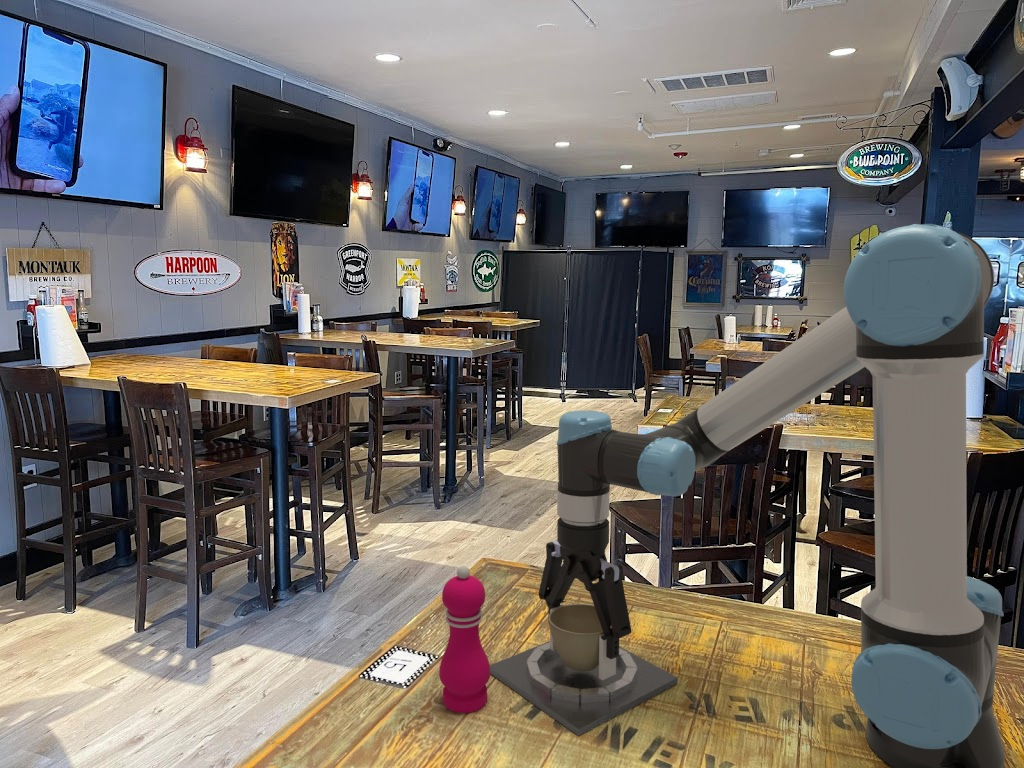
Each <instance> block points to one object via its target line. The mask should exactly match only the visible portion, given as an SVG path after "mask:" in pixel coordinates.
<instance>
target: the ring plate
mask: <svg viewBox="0 0 1024 768" xmlns="http://www.w3.org/2000/svg"><path fill="white" fill-rule="evenodd" d="M490 676H493V677H494V678H496V679H497V680H498V681H500V682H501V683H503V684H504V685H505V686H507V687H508V688H509V689H511V690H512V691H514V692H516V693H517V694H518V695H520V696H521V697H522V698H524V699H525V700H526V701H529V702H530V703H531V704H533V705H534V706H536V707H537V708H538V709H539V710H541V711H542V712H543V713H545V714H547V715H548V716H549V717H550V718H552V719H554V720H555V721H557V722H558V723H559V724H561V725H562V726H564V727H565V728H566V729H567V730H569V731H571V732H572V733H574V734H575V735H576V736H578V737H580V736H582V735H584V734H586V733H588V732H589V731H591V730H593V729H595V728H596V727H595V726H597V727H599V726H601V725H602V724H601V723H603V722H605V723H606V722H608V721H610V720H612V719H614V718H616V717H617V715H618V716H619V714H620V715H621V713H622V714H623V713H625V712H627V711H629V710H631V709H633V708H635V707H637V706H638V705H640V704H642V703H644V702H646V701H648V700H649V699H651V698H653V697H655V696H657V695H659V694H661V693H663V692H666V690H669V689H670V688H673V687H674V686H676V685H678V681H679V680H678V679H679V678H678V676H676V675H674V674H672V673H670V672H669V671H667V670H665V669H663V668H660V667H659V666H657V665H655V664H653V663H651V662H649V661H647V660H646V659H644V658H642V657H640V656H638V655H637V654H635V653H633V652H630V651H629V650H627V649H625V648H623V647H622V646H620V645H619V655H618V657H616V674H615V675H613V676H611V677H609V678H607V679H605V680H601V679H599V665H598V666H597V667H596V668H595V669H593V670H590V671H576V670H573V669H570V668H569V667H567V666H566V664H565V663H564V662H563V660H562V658H561V657H560V655H559V653H558V651H557V650H554V651H552V650H551V649H550V640H549V641H546V642H544V643H542V644H539V645H537V646H534V647H532V648H530V649H528V650H527V649H526V650H525V651H522V652H520V653H517V654H515V655H512V656H509V657H507V658H505V659H502V660H500V661H498V662H495V663H492V664H490ZM636 705H637V706H636ZM613 717H614V718H613ZM609 719H610V720H609ZM607 720H608V721H607ZM600 724H601V725H600ZM603 724H604V723H603ZM598 725H599V726H598ZM594 727H595V728H594ZM592 728H593V729H592ZM588 730H589V731H588ZM587 731H588V732H587ZM585 732H586V733H585ZM583 733H584V734H583Z"/></svg>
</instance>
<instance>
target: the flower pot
mask: <svg viewBox="0 0 1024 768" xmlns="http://www.w3.org/2000/svg"><path fill="white" fill-rule="evenodd" d="M563 605H564V606H560V607H558V608H556V609H554V610H553V611H551V613H550V614H549V615H548V616H549V623H548V625H549V632H550V631H551V635H552V638H553V641H554V644H555V647H556V649H557V651H558V653H559V655H560V657H561V658H562V660H563V662H564V663H565V664H566V666H567V667H569V668H570V669H573V670H576V671H590V670H593V669H595V668H596V667H597V666H598V665H599V636H600V635H602V634H604V633H603V630H602V627H601V624H600V621H599V618H598V615H597V612H596V609H595V606H594V604H589V603H570V604H563ZM611 627H612V625H611V626H610V628H611Z"/></svg>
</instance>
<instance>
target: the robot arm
mask: <svg viewBox="0 0 1024 768" xmlns="http://www.w3.org/2000/svg"><path fill="white" fill-rule="evenodd" d="M992 264H993V263H992V261H991V258H990V256H989V255H988V253H987V252H986V251H985V249H984V248H983V246H982V245H980V243H978V242H977V241H976V240H975V239H973V238H971V237H970V236H968V235H967V234H964V233H961V232H958V231H956V230H955V231H954V230H952V229H950V228H947V227H945V226H943V225H937V224H933V223H923V224H921V223H920V224H919V223H918V224H917V223H913V224H910V225H904V226H900V227H895V228H893V229H890V230H887V231H885V232H882V233H881V234H879V235H877V236H876V237H874V238H872V239H870V240H869V241H868V242H867V243H866V244H865V245H864V246H863V247H862V248H861V249H860V250H859V251H858V252H857V253H856V255H855V256H854V258H853V259H852V260H851V262H850V264H849V267H848V269H847V271H846V274H845V276H844V282H843V283H844V284H843V299H844V304H845V307H844V308H842V309H840V310H839V311H837V312H835V314H833V315H831V316H830V317H829V318H827V319H826V320H825V321H823V322H822V323H820V324H818V325H817V326H816V327H814V328H813V329H811V330H810V331H808V332H807V333H805V334H804V335H802V336H800V338H798V339H796V340H795V341H794V342H792V343H791V344H789V345H788V346H786V347H785V348H784V349H782V350H781V351H779V352H778V353H776V354H774V356H772V357H770V358H769V359H768V360H766V361H765V362H763V363H762V364H760V365H759V366H757V367H756V368H754V369H753V370H751V371H750V372H749V373H747V374H746V375H744V376H743V377H741V378H740V379H738V380H737V381H735V382H734V383H733V384H731V385H729V386H728V387H727V388H726V389H723V391H720V393H718V394H716V395H715V396H714V397H712V398H711V399H709V400H708V401H706V402H705V403H703V404H702V405H700V406H699V407H698V408H696V409H695V410H693V411H692V412H690V413H689V414H687V415H685V416H683V418H682V419H680V420H678V421H676V422H675V423H673V424H671V425H668V426H665V427H661V428H659V429H655V430H653V431H650V432H647V433H642V434H641V433H633V432H624V431H621V430H620V431H619V430H616V429H613V425H612V418H611V416H610V415H609V414H608V413H606V412H602V411H597V410H573V411H568V412H566V413H563V414H562V415H561V416H560V418H559V421H558V435H557V441H556V446H557V447H556V448H557V468H558V469H557V472H558V473H557V475H558V477H557V478H558V482H557V501H556V502H557V503H556V504H557V507H556V508H557V509H556V510H557V512H556V515H557V516H558V517H559V518H558V519H557V520H556V521H557V522H556V523H557V524H556V525H557V528H556V529H557V531H556V532H557V533H556V535H557V536H556V537H557V539H555V540H553V541H550V542H547V543H546V544H545V547H546V548H545V553H546V557H545V561H544V562H545V563H544V565H543V566H544V567H543V572H542V575H541V581H540V586H539V590H538V598H539V599H540V600H544V601H545V605H546V606H547V609H548V610H547V611H548V612H547V613H548V615H547V616H548V617H547V620H548V622H547V623H548V624H549V614H550V613H551V611H553V610H554V609H556V608H558V607H560V606H564V605H565V604H564V603H566V602H567V601H566V597H567V594H568V592H569V591H570V589H571V587H572V585H573V584H574V581H575V580H578V581H579V582H581V583H582V584H583V585H584V588H585V591H586V592H589V595H590V597H591V601H592V605H594V606H595V609H596V612H597V615H598V618H599V621H600V624H601V627H602V630H603V633H604V634H602V635H600V636H599V679H601V680H605V679H607V678H609V677H611V676H613V675H615V674H616V657H618V655H619V646H620V639H621V638H624V637H626V636H628V635H630V634H632V625H631V620H630V615H629V610H628V604H627V600H626V599H627V597H626V593H625V589H624V583H623V577H624V575H623V574H624V567H623V565H622V564H620V563H617V564H612V563H610V562H608V559H607V556H606V555H607V554H606V549H607V547H608V545H609V543H610V521H609V519H608V518H609V516H610V493H611V491H610V490H611V485H612V486H617V487H621V488H625V489H626V488H627V489H629V490H630V489H631V490H636V491H640V492H643V493H644V492H645V493H649V494H651V495H654V496H669V497H679V496H681V495H682V496H683V495H684V494H685V493H686V492H687V491H688V488H689V486H691V485H692V483H693V480H694V477H695V472H696V471H699V470H703V469H705V468H707V467H709V466H711V465H713V464H714V463H715V462H716V461H717V460H718V459H719V458H720V457H722V456H724V455H726V454H727V453H728V452H730V451H731V450H732V449H734V448H735V447H738V446H739V445H741V444H742V443H744V442H745V441H747V440H749V439H751V438H752V437H753V436H755V435H757V434H759V433H760V432H762V431H764V430H765V429H767V428H768V427H770V426H772V425H773V424H775V423H777V422H778V421H780V420H781V419H783V418H784V417H787V416H788V415H790V414H791V413H792V412H794V411H795V410H797V409H799V408H800V407H803V406H804V405H805V404H807V403H809V402H810V401H812V400H813V399H815V398H817V397H818V396H821V395H822V394H823V393H825V392H827V391H828V390H830V389H832V388H833V387H835V386H836V385H838V384H839V383H840V384H841V382H843V381H844V380H847V378H849V377H851V376H853V375H854V374H856V373H858V372H859V371H860V370H862V369H864V368H866V369H867V370H868V371H869V372H870V374H871V376H872V420H873V421H872V423H873V424H872V425H873V427H872V428H873V431H872V432H873V486H874V487H873V488H874V491H873V492H874V493H873V494H874V496H873V497H874V498H873V499H874V550H875V551H874V553H875V556H874V557H875V560H874V561H875V587H874V588H873V589H872V590H871V591H869V592H868V593H866V594H865V595H863V597H862V598H861V600H860V601H861V602H860V620H861V621H860V628H861V630H860V632H861V633H860V634H861V635H860V637H861V638H860V639H861V640H860V641H861V648H860V653H859V654H858V655H857V656H856V659H854V662H853V666H852V667H851V668H852V669H851V679H850V680H851V684H850V685H851V689H852V694H853V696H854V698H855V701H856V704H857V706H858V707H859V708H860V710H861V711H862V713H863V715H865V717H866V726H865V727H866V728H865V735H866V740H867V742H868V745H869V747H870V748H871V750H872V751H873V752H874V753H875V754H876V755H877V756H878V758H880V759H881V760H882V761H883V762H885V763H886V764H888V765H889V766H890V767H892V768H1005V760H1006V756H1005V755H1006V754H1005V749H1004V745H1003V742H1002V738H1001V734H1000V731H999V727H998V724H997V721H996V716H995V714H994V713H995V712H994V710H993V704H994V703H993V702H994V691H995V682H996V673H997V662H998V651H999V642H1000V641H999V640H1000V631H1001V622H1002V621H1001V620H1002V617H1004V611H1003V598H1002V595H1001V593H1000V591H998V589H997V588H995V586H992V585H991V584H990V583H989V584H988V583H987V582H986V581H982V580H980V579H977V578H974V577H971V576H968V572H967V571H968V570H967V569H968V565H967V564H968V563H967V562H968V561H967V560H968V557H967V549H968V548H967V546H968V543H967V541H968V539H967V538H968V537H967V533H968V531H967V529H968V528H967V527H968V526H967V525H968V524H967V523H968V522H967V520H968V519H967V518H968V517H967V512H968V511H967V373H968V372H969V370H970V369H971V368H973V366H975V364H977V363H978V362H979V361H981V359H982V358H983V357H985V356H984V355H985V352H984V351H985V348H984V347H985V344H984V343H985V338H984V336H985V307H986V306H987V304H988V303H989V299H990V298H991V296H992V293H993V291H994V290H993V289H994V285H995V284H994V283H995V274H994V273H995V272H994V268H993V265H992ZM597 580H598V581H597ZM595 581H597V582H595ZM593 582H595V583H593ZM611 625H612V627H611V628H610V626H611ZM549 641H550V649H551V650H552V651H554V650H557V649H556V647H555V644H554V641H553V638H552V635H551V631H550V630H549Z"/></svg>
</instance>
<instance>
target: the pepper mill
mask: <svg viewBox="0 0 1024 768" xmlns="http://www.w3.org/2000/svg"><path fill="white" fill-rule="evenodd" d="M456 573H457V574H456V576H453V577H452V578H450V579H448V580H447V582H446V583H445V584H444V586H443V589H442V592H441V593H442V594H441V599H442V603H443V605H444V606H445V607H444V608H446V612H445V616H446V618H445V621H446V624H447V625H449V637H448V641H447V645H446V648H445V650H444V651H443V655H442V656H441V660H440V663H439V674H438V675H439V680H440V682H441V684H442V686H444V687H443V689H442V702H443V705H444V706H445V707H446V708H447V709H448V710H449V711H452V712H455V713H460V714H467V713H474V712H477V711H479V710H480V709H483V707H484V706H485V705H486V704H487V702H488V687H487V684H488V682H489V680H490V677H491V674H490V665H491V664H490V662H489V658H488V656H487V653H486V652H485V650H484V647H483V645H482V642H481V639H480V632H479V631H480V629H479V626H480V623H481V622H482V621H483V617H482V614H483V610H482V609H481V608H482V607H483V605H484V603H485V601H486V590H485V587H484V585H483V583H482V582H481V580H479V578H477V577H475V576H473V575H470V574H471V571H470V569H469V567H467V566H464V565H463V566H460V567H459V568H457V570H456Z"/></svg>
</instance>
